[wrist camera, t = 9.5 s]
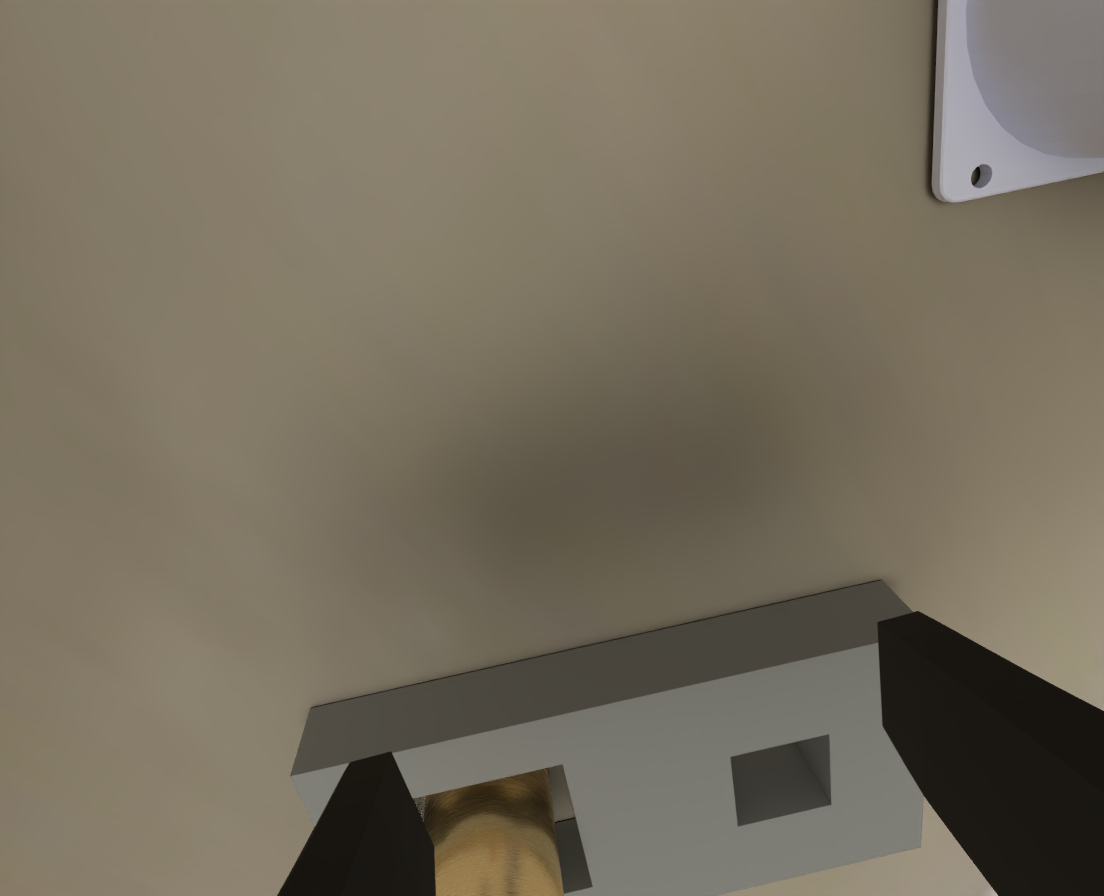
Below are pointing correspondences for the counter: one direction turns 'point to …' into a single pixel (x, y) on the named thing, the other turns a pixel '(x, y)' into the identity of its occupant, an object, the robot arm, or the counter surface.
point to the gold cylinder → (495, 838)
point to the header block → (667, 747)
